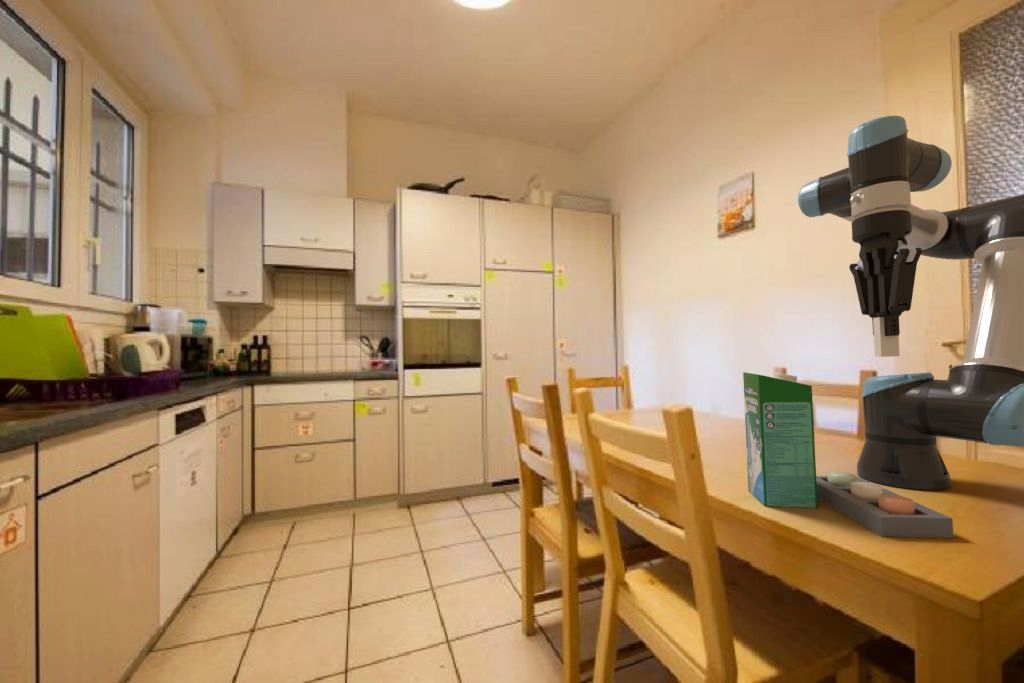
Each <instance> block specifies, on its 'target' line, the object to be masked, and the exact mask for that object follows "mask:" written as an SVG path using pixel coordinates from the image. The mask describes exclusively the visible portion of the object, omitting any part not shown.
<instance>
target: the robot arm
mask: <svg viewBox="0 0 1024 683" xmlns="http://www.w3.org/2000/svg"><path fill="white" fill-rule="evenodd" d="M907 127H908V126H907V122H906V119H905V118H904V117H903V116H901V115H886V116H881V117H877V118H874V119H871V120H869V121H866V122H864V123H862V124H860V125H858V126H857V127H855V128H854V129H853V130H852V131H851V132H850V133H849V136H848V138H847V140H848V142H847V153H846V155H847V156H846V157H847V158H848V160H847V161H848V167H846V168H843V169H840V170H838V171H834V172H832V173H829V174H827V175H823V176H819V177H818V178H816V179H813V180H811V181H809V182H807V183H805V184H803V185H802V186H801V187H800V189H799V191H798V194H797V195H798V198H797V204H798V207H799V209H800V212H801V213H802V214H803V215H804V216H806V217H808V218H815V217H822V216H825V215H827V214H829V215H832V216H835V217H838V218H841V219H843V220H845V221H848V222H850V223H851V236H852V237H851V239H852V242H854V243H856V244H859V245H860V247H859V248H860V249H859V253H858V257H859V259H858V260H857V262H856V263H850V265H849V270H850V272H851V274H852V276H853V280H854V284H855V289H856V293H857V298H858V302H859V307H860V312H861V315H863V316H869V318H871V320H872V321H871V322H872V335H873V342H874V343H873V346H874V357H877V358H878V357H881V358H883V357H885V358H886V357H892V358H893V357H900V355H901V354H900V339H899V336H900V332H901V330H900V316H902V314H903V313H905V312H909V311H911V308H912V300H913V294H914V286H915V280H916V273H917V266H918V262H919V260H920V258H921V256H925V257H930V258H935V259H940V260H941V259H942V260H943V259H944V260H969V259H975V260H976V261H977V262H978V263H979V264H981V269H980V273H979V279H978V283H977V284H978V285H977V288H976V294H975V297H974V298H975V299H974V303H973V304H974V305H973V309H972V315H971V318H970V323H969V328H968V333H967V336H966V337H967V339H966V342H965V348H964V352H963V357H962V362H959V363H957V364H956V365H953V366H951V367H950V369H949V371H948V372H949V373H948V377H947V379H935V376H934V374H933V373H932V372H916V373H915V372H914V373H903V374H901V373H900V374H890V375H879V376H870V377H867V378H866V379H864V381H863V382H862V383H863V384H862V394H861V399H862V406H863V407H862V408H863V409H862V410H863V420H864V421H863V423H864V425H863V426H864V438H865V439H864V443H863V447H862V449H861V452H860V454H859V457H858V461H857V463H856V475H858V476H859V478H861V479H863V480H866V481H869V482H870V481H871V482H872V483H875V484H876V483H877V484H881V485H886V486H890V487H891V486H892V487H896V488H903V489H913V490H927V491H928V490H929V491H936V490H946V489H949V488H950V487H952V483H951V481H952V480H951V475H950V472H949V470H948V468H947V466H946V464H945V462H944V460H943V457H942V455H941V453H940V451H939V449H938V444H937V437H940V438H946V439H954V440H960V441H961V440H963V441H969V442H976V443H984V444H989V445H990V446H991V445H992V446H1011V447H1020V448H1021V447H1024V193H1022V194H1017V195H1014V196H1009V197H1005V198H1001V199H997V200H992V201H988V202H983V203H979V204H974V205H971V206H966V207H963V208H956V209H954V210H953V209H952V210H948V211H939V210H937V209H922V208H920V207H918V206H916V205H914V204H912V203H911V202H912V199H911V198H912V197H911V192H913V193H916V192H917V193H918V192H926V191H929V190H932V189H933V188H935V187H937V186H939V185H940V184H941V183H942V182H943V181H944V180H945V179H946V178H947V177H948V175H949V173H950V171H951V169H952V158H951V155H950V153H948V152H947V151H946V150H944V149H943V148H941V147H939V146H937V145H935V144H932V143H926V142H925V143H924V142H922V141H918V140H915V139H912V138H910V137H908V133H909V129H908V128H907Z"/></svg>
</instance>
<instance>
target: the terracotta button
mask: <svg viewBox="0 0 1024 683" xmlns="http://www.w3.org/2000/svg"><path fill="white" fill-rule="evenodd" d="M878 500H879V509H881V510H883V511H885V512H887V513H889V514H909V515H915V505H914V502H915V501H914V500H913V499H911V498H908V497H906V496H903V495H900V496H897V495H879V496H878Z"/></svg>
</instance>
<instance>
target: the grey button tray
mask: <svg viewBox="0 0 1024 683" xmlns="http://www.w3.org/2000/svg"><path fill="white" fill-rule="evenodd" d="M855 476H856V475H855ZM856 482H867V483H872V484H874V482H870V481H869V480H867V479H864V478H862V477H860V476H859V477H858V476H856ZM816 483H817V500H820V501H821V502H823V503H825V505H828V506H829V507H831V508H833V509H835V510H836V511H838V512H840V513H841V514H843V515H845V516H846V517H848V518H850V519H851V520H853V521H855V522H857V523H859V524H860V525H861V526H863V527H865V528H867V529H869V530H870V531H872V532H873V533H875V534H877V535H878V536H880V537H882V538H883V537H887V538H888V537H889V538H890V537H891V538H892V537H893V538H894V537H895V538H897V537H898V538H935V539H936V538H937V539H938V538H941V539H942V538H943V539H945V538H946V539H954V525H953V523H954V521H953V517H950V516H948V515H946V514H944V513H941V512H939V511H937V510H934V509H932V508H930V507H927V506H925V505H923V504H920V503H919V502H916V501H914V505H915V515H909V514H889V513H887V512H885V511H883V510H881V509H879V500H878V499H860V498H858V497H856V496H854V495H852V494H851V486H834V485H832V484H830V483H828V475H816ZM882 493H883V495H897V496H901V495H900V494H898V493H895V492H893V491H891V490H888V489H886V488H884V487H882Z"/></svg>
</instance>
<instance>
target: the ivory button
mask: <svg viewBox="0 0 1024 683" xmlns="http://www.w3.org/2000/svg"><path fill="white" fill-rule="evenodd" d="M872 483H873V482H870V483H867V482H852V483H851V494H852V495H854V496H856V497H858V498H860V499H878V496H879V495H883V493H882V488H883V487H882V485H879V484H876V483H873V484H872Z"/></svg>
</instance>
